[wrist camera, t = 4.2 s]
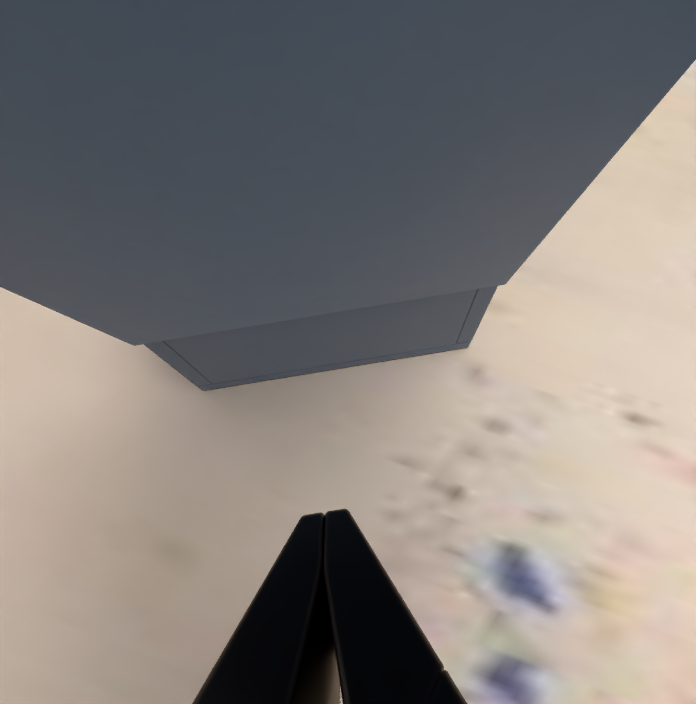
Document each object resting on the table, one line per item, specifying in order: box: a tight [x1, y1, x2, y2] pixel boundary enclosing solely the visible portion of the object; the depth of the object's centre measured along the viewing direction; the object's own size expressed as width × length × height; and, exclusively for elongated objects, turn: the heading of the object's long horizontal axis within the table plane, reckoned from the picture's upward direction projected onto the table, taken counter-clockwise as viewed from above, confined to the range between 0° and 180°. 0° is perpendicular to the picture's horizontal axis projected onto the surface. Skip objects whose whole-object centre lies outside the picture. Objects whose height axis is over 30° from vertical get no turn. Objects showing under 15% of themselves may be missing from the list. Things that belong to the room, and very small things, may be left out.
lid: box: [0, 0, 696, 346], centre depth 9 cm, size 14×14×1 cm
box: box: [144, 286, 497, 391], centre depth 21 cm, size 13×14×6 cm
